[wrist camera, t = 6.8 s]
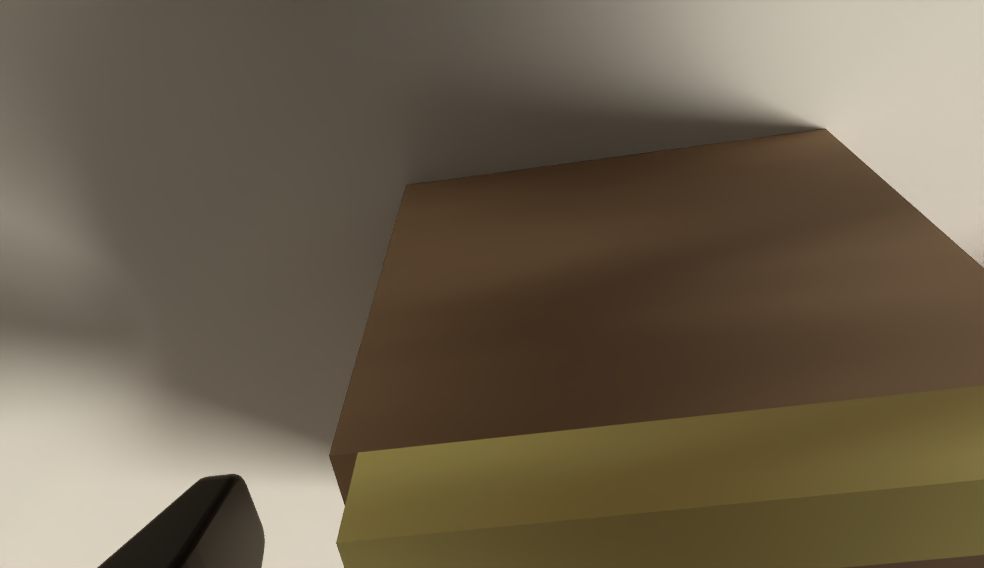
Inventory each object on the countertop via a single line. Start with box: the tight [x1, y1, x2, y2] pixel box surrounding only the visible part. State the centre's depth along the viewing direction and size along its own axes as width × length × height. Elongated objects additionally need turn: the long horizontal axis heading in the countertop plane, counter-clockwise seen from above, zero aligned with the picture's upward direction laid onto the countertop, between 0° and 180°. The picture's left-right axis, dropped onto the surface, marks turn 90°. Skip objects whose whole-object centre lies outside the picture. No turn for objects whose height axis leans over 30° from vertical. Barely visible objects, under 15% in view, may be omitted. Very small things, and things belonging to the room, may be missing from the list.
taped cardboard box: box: [329, 129, 984, 568], centre depth 8 cm, size 5×5×6 cm
